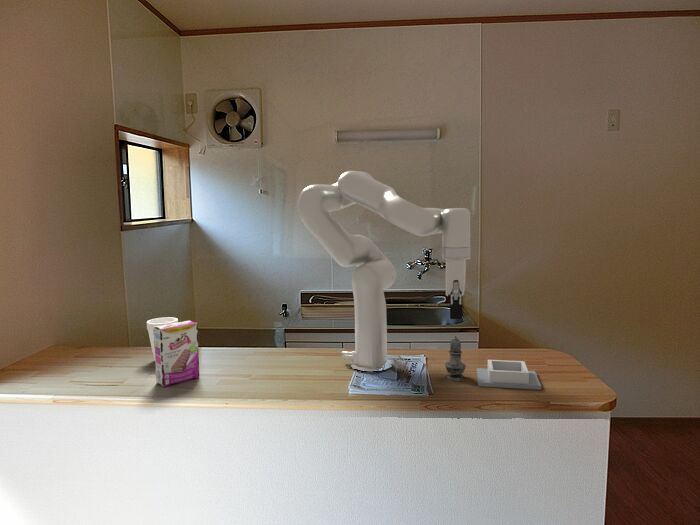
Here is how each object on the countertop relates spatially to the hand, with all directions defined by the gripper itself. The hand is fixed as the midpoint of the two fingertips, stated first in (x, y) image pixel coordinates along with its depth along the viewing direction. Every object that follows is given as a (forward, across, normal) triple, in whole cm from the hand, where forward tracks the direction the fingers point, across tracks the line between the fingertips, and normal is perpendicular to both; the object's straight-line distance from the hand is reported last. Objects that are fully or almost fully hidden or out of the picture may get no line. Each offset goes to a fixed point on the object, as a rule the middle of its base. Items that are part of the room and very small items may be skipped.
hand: (456, 314), depth 142 cm
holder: (+18, 0, +14) cm, 23 cm away
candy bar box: (+18, +15, -77) cm, 81 cm away
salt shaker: (+18, 0, 0) cm, 18 cm away
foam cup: (+17, -2, -92) cm, 94 cm away
